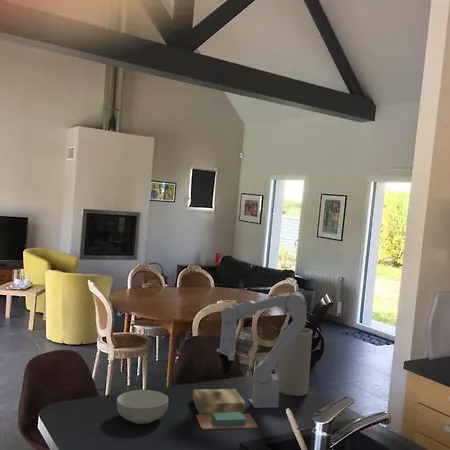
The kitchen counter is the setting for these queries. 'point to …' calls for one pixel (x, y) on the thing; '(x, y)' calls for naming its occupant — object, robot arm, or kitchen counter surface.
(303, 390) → the cylinder vase
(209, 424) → the terracotta mat
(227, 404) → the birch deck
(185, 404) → the kitchen counter surface
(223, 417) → the teal rectangular block
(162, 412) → the cereal bowl
